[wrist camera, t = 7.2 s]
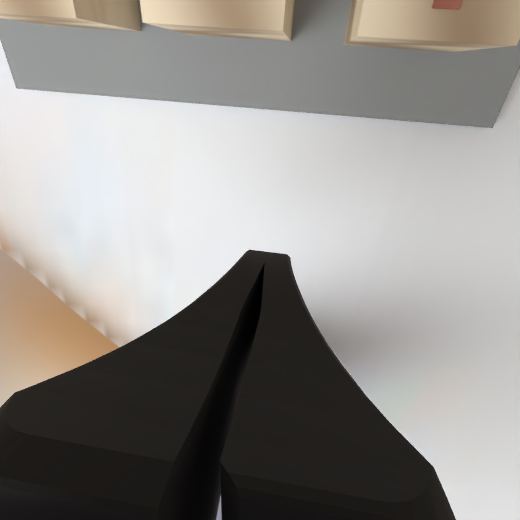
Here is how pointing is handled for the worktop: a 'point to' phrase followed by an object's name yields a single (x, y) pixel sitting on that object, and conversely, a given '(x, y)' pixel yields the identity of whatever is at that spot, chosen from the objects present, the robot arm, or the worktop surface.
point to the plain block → (223, 17)
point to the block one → (434, 24)
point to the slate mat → (267, 69)
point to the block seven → (75, 13)
